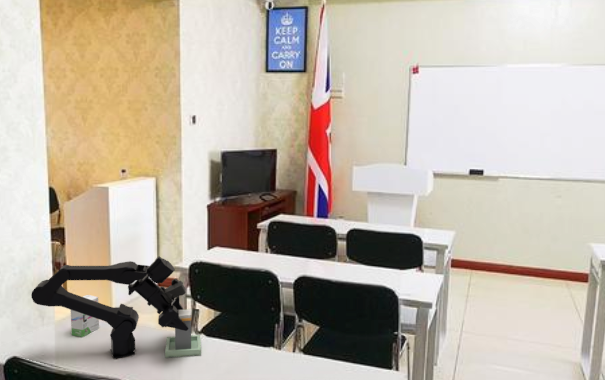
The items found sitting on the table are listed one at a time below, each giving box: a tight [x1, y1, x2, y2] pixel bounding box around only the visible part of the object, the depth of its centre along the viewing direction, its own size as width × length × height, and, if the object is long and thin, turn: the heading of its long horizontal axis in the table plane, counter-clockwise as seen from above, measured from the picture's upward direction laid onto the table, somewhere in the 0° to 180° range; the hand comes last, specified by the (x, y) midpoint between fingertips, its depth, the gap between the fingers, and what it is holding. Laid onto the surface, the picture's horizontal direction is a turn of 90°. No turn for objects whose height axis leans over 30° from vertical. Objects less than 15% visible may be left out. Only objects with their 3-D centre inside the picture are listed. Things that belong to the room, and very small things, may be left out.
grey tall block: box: [174, 308, 192, 350], centre depth 166 cm, size 5×5×12 cm
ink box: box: [70, 294, 100, 338], centre depth 177 cm, size 8×5×12 cm, turn 162°
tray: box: [164, 334, 202, 359], centre depth 167 cm, size 11×11×2 cm
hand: (187, 323), depth 166 cm, fingers open, 9 cm apart
